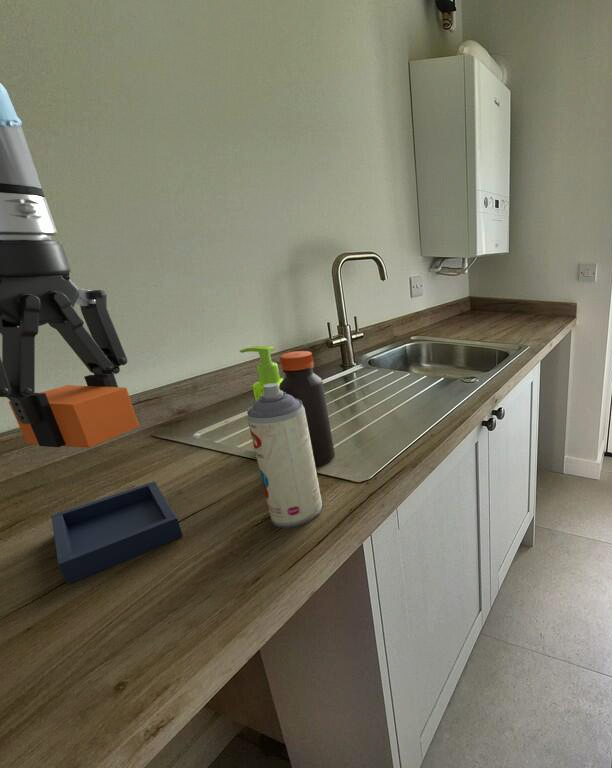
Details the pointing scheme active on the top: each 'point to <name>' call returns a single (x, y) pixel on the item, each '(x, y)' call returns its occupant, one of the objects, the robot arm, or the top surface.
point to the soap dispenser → (264, 369)
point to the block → (87, 414)
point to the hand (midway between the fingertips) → (84, 432)
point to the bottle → (309, 401)
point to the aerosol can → (285, 457)
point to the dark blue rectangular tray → (112, 530)
